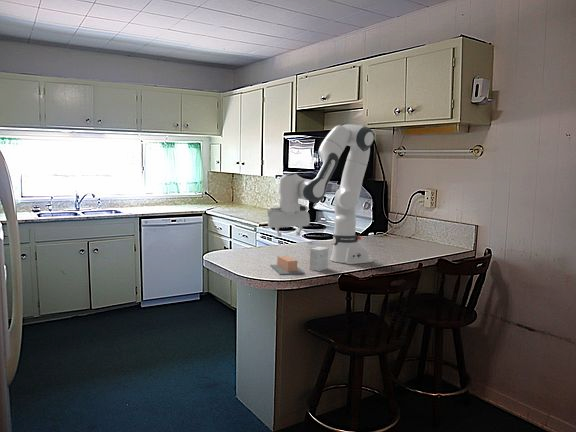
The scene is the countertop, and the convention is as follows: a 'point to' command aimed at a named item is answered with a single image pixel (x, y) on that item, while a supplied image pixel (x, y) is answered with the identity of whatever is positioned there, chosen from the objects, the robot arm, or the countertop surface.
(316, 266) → the small box
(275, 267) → the mat
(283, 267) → the terracotta block
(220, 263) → the countertop surface
